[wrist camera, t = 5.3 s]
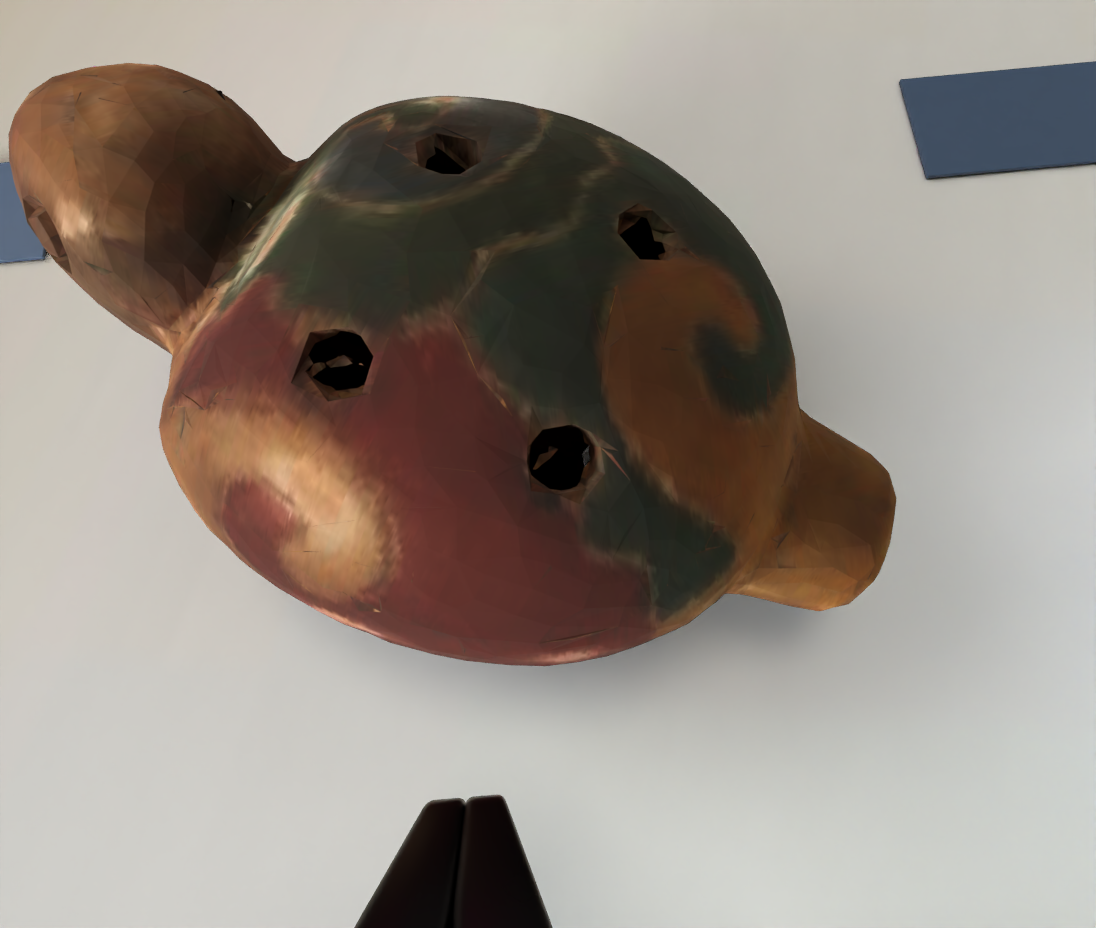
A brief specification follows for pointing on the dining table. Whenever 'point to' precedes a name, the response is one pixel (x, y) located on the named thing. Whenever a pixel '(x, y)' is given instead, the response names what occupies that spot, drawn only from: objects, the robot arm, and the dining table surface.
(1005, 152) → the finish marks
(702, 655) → the dining table surface
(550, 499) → the decorative turtle
